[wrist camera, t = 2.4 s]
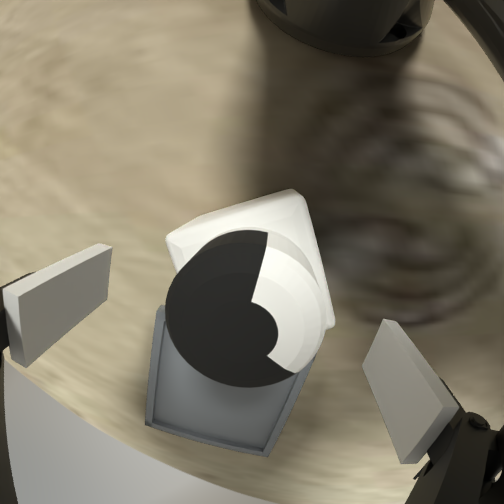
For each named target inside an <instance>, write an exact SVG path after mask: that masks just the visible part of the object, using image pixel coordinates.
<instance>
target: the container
mask: <svg viewBox="0 0 504 504" xmlns="http://www.w3.org/2000/svg"><path fill="white" fill-rule="evenodd" d="M165 240H166V245H167V248H168V250H169V253H170V256H171V259H172V262H173V264H174V267H175V270H176V273H177V275H176V276H175V278H174V279H173V282H172V284H171V286H170V288H169V291H168V294H167V297H166V304H165V320H166V326H167V330H168V333H169V336H170V338H171V340H172V342H173V344H174V346H175V348H176V349H177V351H178V352H179V354H180V355H181V356H182V357H183V359H184V360H185V361H186V362H187V363H188V364H189V365H190V366H192V367H193V368H194V369H195V370H197V371H198V372H200V373H201V374H202V375H204V376H206V377H208V378H210V379H212V380H214V381H216V382H219V383H222V384H225V385H229V386H234V387H242V388H254V387H263V386H268V385H272V384H275V383H278V382H281V381H283V380H286V379H288V378H290V377H291V376H293V375H295V374H296V373H298V372H299V371H300V370H301V369H303V368H304V367H305V366H306V365H307V364H308V363H309V362H310V361H311V360H312V358H313V357H314V356H315V354H316V353H317V351H318V349H319V347H320V345H321V343H322V341H323V337H324V334H325V330H328V329H331V328H333V327H334V325H335V316H334V312H333V307H332V303H331V298H330V294H329V290H328V285H327V281H326V277H325V273H324V269H323V265H322V261H321V257H320V253H319V249H318V245H317V241H316V237H315V233H314V229H313V226H312V222H311V218H310V215H309V211H308V207H307V204H306V200H305V199H304V197H303V196H302V195H300V194H299V193H298V192H297V191H295V190H294V189H287V190H283V191H280V192H276V193H273V194H269V195H266V196H262V197H259V198H256V199H252V200H249V201H245V202H242V203H239V204H236V205H232V206H229V207H226V208H222V209H219V210H216V211H213V212H210V213H206V214H203V215H200V216H198V217H196V218H195V219H193V220H191V221H189V222H188V223H186V224H184V225H183V226H181V227H179V228H177V229H176V230H174V231H172V232H171V233H169V234H168V235H167V236H166V239H165Z"/></svg>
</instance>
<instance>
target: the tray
mask: <svg viewBox="0 0 504 504" xmlns="http://www.w3.org/2000/svg"><path fill="white" fill-rule="evenodd" d="M316 354H317V353H316ZM316 354H315V356H316ZM315 356H314V357H313V358H312V360H311V361H310V362H309V363H308V364H307V365H306V366H305V367H304V368H303V369H301V370H300V371H299V372H298V373H296V374H295V375H293V376H291V377H290V378H288V379H286V380H283V381H281V382H278V383H275V384H272V385H268V386H263V387H254V388H242V387H234V386H229V385H225V384H222V383H219V382H216V381H214V380H212V379H210V378H208V377H206V376H204V375H202V374H201V373H200V372H198V371H197V370H195V369H194V368H193V367H192V366H190V365H189V364H188V363H187V362H186V361H185V360H184V359H183V357H182V356H181V355H180V354H179V352H178V351H177V349H176V348H175V346H174V344H173V342H172V340H171V338H170V336H169V333H168V330H167V326H166V320H165V306H164V305H161V306H160V307H159V308H158V310H157V312H156V319H155V327H154V335H153V343H152V351H151V360H150V370H149V380H148V391H147V403H146V416H145V425H147V426H150V427H153V428H155V429H158V430H161V431H164V432H168V433H171V434H174V435H177V436H180V437H184V438H187V439H191V440H194V441H198V442H201V443H205V444H209V445H213V446H217V447H221V448H225V449H229V450H234V451H238V452H243V453H248V454H253V455H259V456H264V457H268V456H269V454H270V452H271V450H272V448H273V447H274V445H275V443H276V441H277V439H278V437H279V435H280V433H281V431H282V429H283V427H284V425H285V423H286V420H287V418H288V416H289V414H290V412H291V410H292V408H293V406H294V404H295V401H296V399H297V397H298V395H299V393H300V391H301V388H302V386H303V384H304V382H305V379H306V377H307V375H308V372H309V370H310V368H311V366H312V363H313V361H314V358H315Z"/></svg>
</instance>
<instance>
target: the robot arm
mask: <svg viewBox="0 0 504 504" xmlns="http://www.w3.org/2000/svg"><path fill="white" fill-rule="evenodd" d="M256 1H257V3H258V5H259V7H260V8H261V9H262V11H263V12H264V13H265V15H266V16H267V17H268V18H269V19H270V20H271V21H272V22H273V23H274V24H275V25H277V26H278V27H279V28H280V29H282V30H283V31H285V32H286V33H288V34H289V35H291V36H292V37H294V38H296V39H298V40H300V41H302V42H304V43H306V44H308V45H310V46H313V47H315V48H318V49H321V50H324V51H328V52H331V53H336V54H340V55H347V56H357V57H370V56H379V55H384V54H388V53H392V52H394V51H397V50H399V49H401V48H403V47H404V46H406V45H407V44H409V43H410V42H411V41H412V40H413V39H414V38H415V37H416V36H417V35H419V34H420V33H421V32H422V30H423V29H424V28H425V26H426V25H427V23H428V21H429V19H430V17H431V14H432V9H433V5H434V1H435V0H256ZM443 1H444V2H445V3H446V4H447V5H448V6H449V7H450V8H451V10H452V11H453V12H454V13H455V14H456V15H457V17H458V18H459V19H460V20H461V22H462V23H463V24H464V25H465V27H466V28H467V29H468V30H469V32H470V33H471V34H472V36H473V37H474V38H475V40H476V41H477V42H478V44H479V45H480V46H481V48H482V49H483V51H484V52H485V54H486V55H487V56H488V58H489V59H490V61H491V62H492V64H493V65H494V67H495V69H496V70H497V72H498V73H499V75H500V77H501V78H502V80H503V81H504V0H443ZM111 255H112V247H110V246H107V245H104V244H101V243H98V244H96V245H94V246H91V247H89V248H87V249H85V250H82V251H80V252H78V253H76V254H73V255H71V256H69V257H67V258H65V259H63V260H60V261H58V262H56V263H54V264H52V265H50V266H48V267H46V268H43V269H41V270H39V271H37V272H33V273H28V274H26V275H24V276H22V277H20V279H19V278H18V279H16V280H14V281H13V282H10V283H8V284H6V285H4V286H2V287H0V504H18V501H17V497H16V492H15V487H14V482H13V477H12V472H11V466H10V459H9V452H8V445H7V435H6V424H5V411H4V410H5V409H4V355H3V350H4V349H5V348H6V347H8V346H9V348H10V354H11V359H12V360H14V361H15V362H17V363H18V364H20V365H22V366H23V367H25V368H27V367H28V366H29V365H31V364H32V363H33V362H34V361H35V360H36V359H37V358H38V357H40V356H41V355H42V354H43V353H44V352H45V351H46V350H48V349H49V348H50V347H51V346H52V345H53V344H54V343H56V342H57V341H58V340H59V339H60V338H61V337H63V336H64V335H65V334H66V333H67V332H69V331H70V330H71V329H72V328H73V327H74V326H76V325H77V324H78V323H79V322H80V321H82V320H83V319H84V318H85V317H86V316H88V315H89V314H90V313H91V312H92V311H94V310H95V309H96V308H97V307H99V306H100V305H101V304H102V303H103V302H105V301H106V300H107V295H108V283H109V273H110V264H111ZM362 368H363V370H364V373H365V375H366V378H367V380H368V382H369V385H370V387H371V389H372V392H373V394H374V397H375V399H376V402H377V404H378V407H379V409H380V411H381V414H382V416H383V419H384V422H385V424H386V427H387V429H388V432H389V434H390V437H391V439H392V442H393V445H394V447H395V450H396V453H397V455H398V458H399V461H400V463H401V464H415V463H418V462H419V461H420V460H421V458H422V457H423V456H424V455H425V454H426V452H427V453H428V455H429V458H430V460H429V461H428V462H427V463H426V464H425V466H424V467H423V468H422V469H421V470H420V471H419V472H418V473H417V475H416V476H415V477H414V478H413V479H414V480H415V479H416V478H417V477H419V478H418V480H417V482H416V484H415V486H414V488H413V490H412V491H411V493H410V495H409V497H408V499H407V501H406V503H405V504H504V425H503V427H502V428H501V429H500V431H495V430H491V429H490V425H489V423H488V422H487V421H486V420H485V419H484V418H483V417H482V416H480V415H478V414H476V413H473V412H467V413H466V412H465V411H464V409H463V408H462V406H461V405H460V403H459V402H458V401H457V399H456V398H455V396H453V393H452V392H451V391H450V390H449V388H448V386H447V385H446V384H445V382H444V381H443V380H442V379H441V378H440V377H438V376H437V374H436V373H435V372H434V370H433V369H432V368H431V366H430V365H429V364H428V362H427V361H426V360H425V358H424V357H423V355H422V354H421V353H420V351H419V350H418V349H417V348H416V346H415V345H414V344H413V342H412V341H411V340H410V338H409V337H408V336H407V334H406V333H405V332H404V331H403V329H402V328H401V327H400V325H399V324H398V323H397V322H396V321H392V320H388V319H383V320H382V323H381V325H380V327H379V330H378V332H377V334H376V336H375V339H374V341H373V343H372V345H371V347H370V350H369V352H368V354H367V356H366V358H365V360H364V362H363V364H362ZM501 470H502V473H501V476H500V478H499V479H498V481H496V482H495V477H496V476H497V474H498V473H499V472H500V471H501Z"/></svg>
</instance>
